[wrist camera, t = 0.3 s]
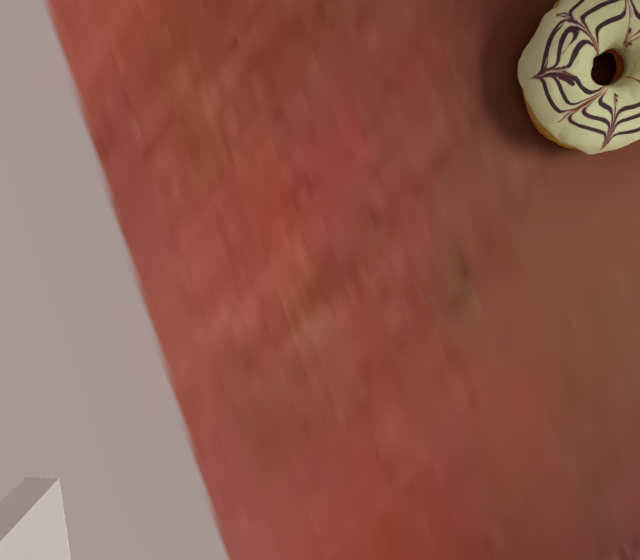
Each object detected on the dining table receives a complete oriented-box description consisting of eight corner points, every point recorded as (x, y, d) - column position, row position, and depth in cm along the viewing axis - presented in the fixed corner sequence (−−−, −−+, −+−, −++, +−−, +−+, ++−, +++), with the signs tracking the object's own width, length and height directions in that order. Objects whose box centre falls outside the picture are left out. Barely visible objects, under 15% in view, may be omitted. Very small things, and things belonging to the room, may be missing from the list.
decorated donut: (480, 83, 34) (495, 70, 31) (597, -45, 32) (628, -76, 29) (584, 183, 35) (611, 182, 31) (705, 64, 33) (749, 47, 29)
